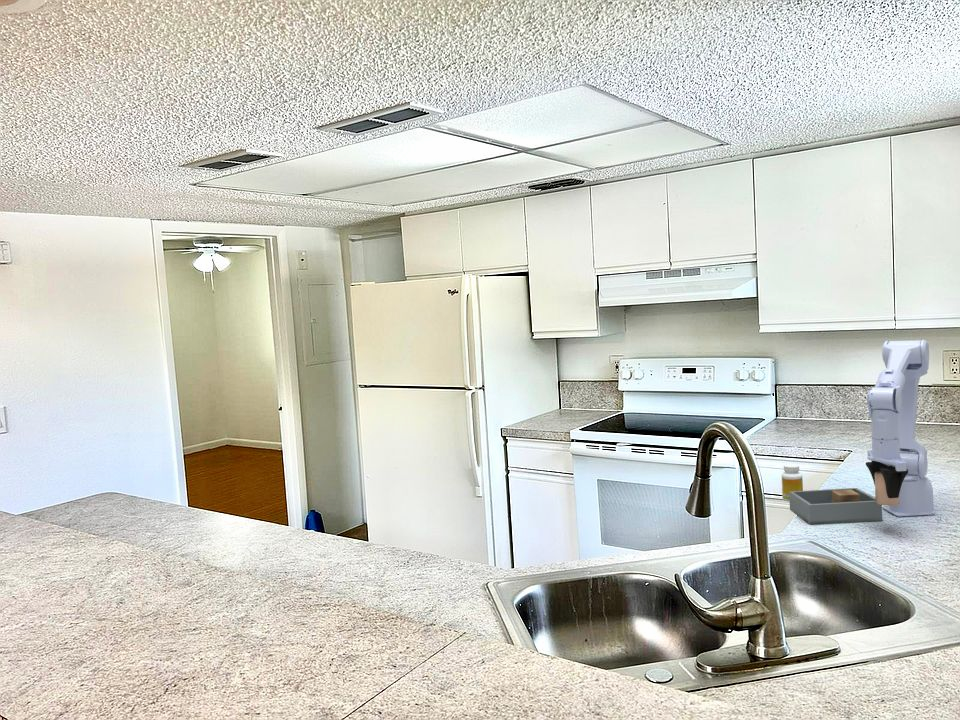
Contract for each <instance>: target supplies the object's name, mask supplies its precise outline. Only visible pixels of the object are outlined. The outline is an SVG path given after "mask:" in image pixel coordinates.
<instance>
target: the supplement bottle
mask: <svg viewBox="0 0 960 720" xmlns="http://www.w3.org/2000/svg"><path fill="white" fill-rule="evenodd" d="M783 471H784V472H782V473H781V497H782V500H783V501H784V502H788V503H790V499H789V492H791V491H804V485H803V484H804V483H803V480H804V479H803V475H802V473H801V472H799V471H800V465H799V464H795V463H788V464H784V465H783Z"/></svg>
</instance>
